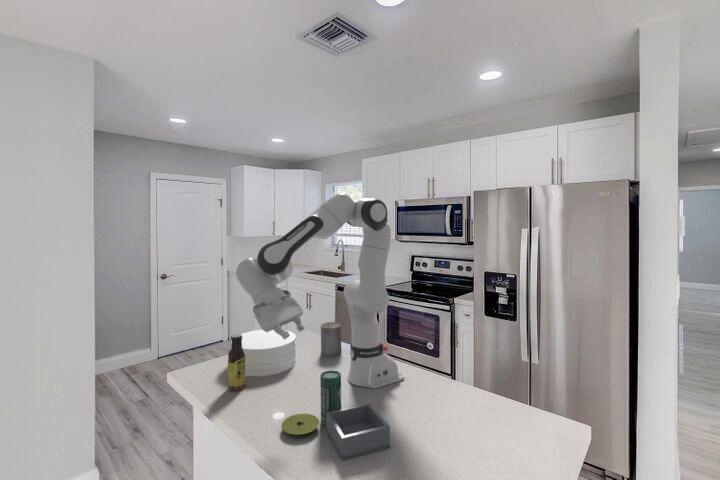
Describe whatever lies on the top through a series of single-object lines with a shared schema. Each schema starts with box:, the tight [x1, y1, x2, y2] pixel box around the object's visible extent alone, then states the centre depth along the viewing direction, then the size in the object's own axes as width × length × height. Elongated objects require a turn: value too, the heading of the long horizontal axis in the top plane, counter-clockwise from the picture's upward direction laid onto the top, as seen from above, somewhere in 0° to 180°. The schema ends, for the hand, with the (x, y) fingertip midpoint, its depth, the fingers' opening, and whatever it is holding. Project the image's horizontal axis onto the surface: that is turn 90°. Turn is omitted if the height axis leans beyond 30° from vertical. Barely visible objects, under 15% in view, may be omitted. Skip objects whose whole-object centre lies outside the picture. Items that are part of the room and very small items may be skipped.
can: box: [319, 370, 342, 427], centre depth 112 cm, size 6×6×15 cm
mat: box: [281, 413, 320, 436], centre depth 108 cm, size 11×11×2 cm
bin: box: [326, 402, 391, 462], centre depth 102 cm, size 14×14×6 cm
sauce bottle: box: [227, 334, 246, 391], centre depth 135 cm, size 6×6×20 cm
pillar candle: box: [320, 321, 342, 357], centre depth 171 cm, size 10×10×15 cm
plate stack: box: [230, 329, 297, 377], centre depth 159 cm, size 28×28×12 cm
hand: (295, 333), depth 115 cm, fingers open, 8 cm apart
